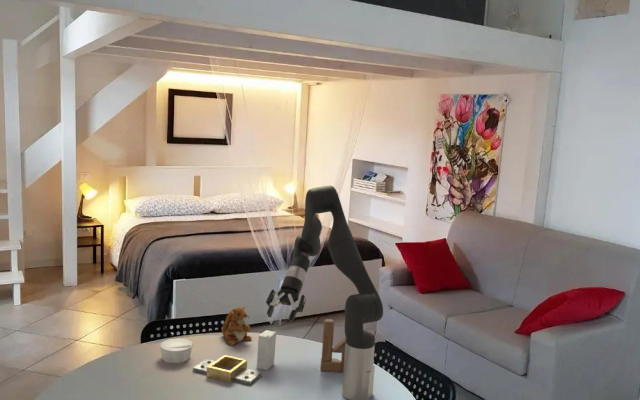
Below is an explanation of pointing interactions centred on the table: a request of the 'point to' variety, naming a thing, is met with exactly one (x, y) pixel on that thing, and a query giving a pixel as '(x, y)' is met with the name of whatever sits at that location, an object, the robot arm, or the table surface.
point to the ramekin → (176, 350)
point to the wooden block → (331, 349)
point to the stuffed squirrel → (236, 326)
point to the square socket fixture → (235, 374)
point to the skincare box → (266, 350)
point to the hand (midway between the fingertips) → (279, 318)
